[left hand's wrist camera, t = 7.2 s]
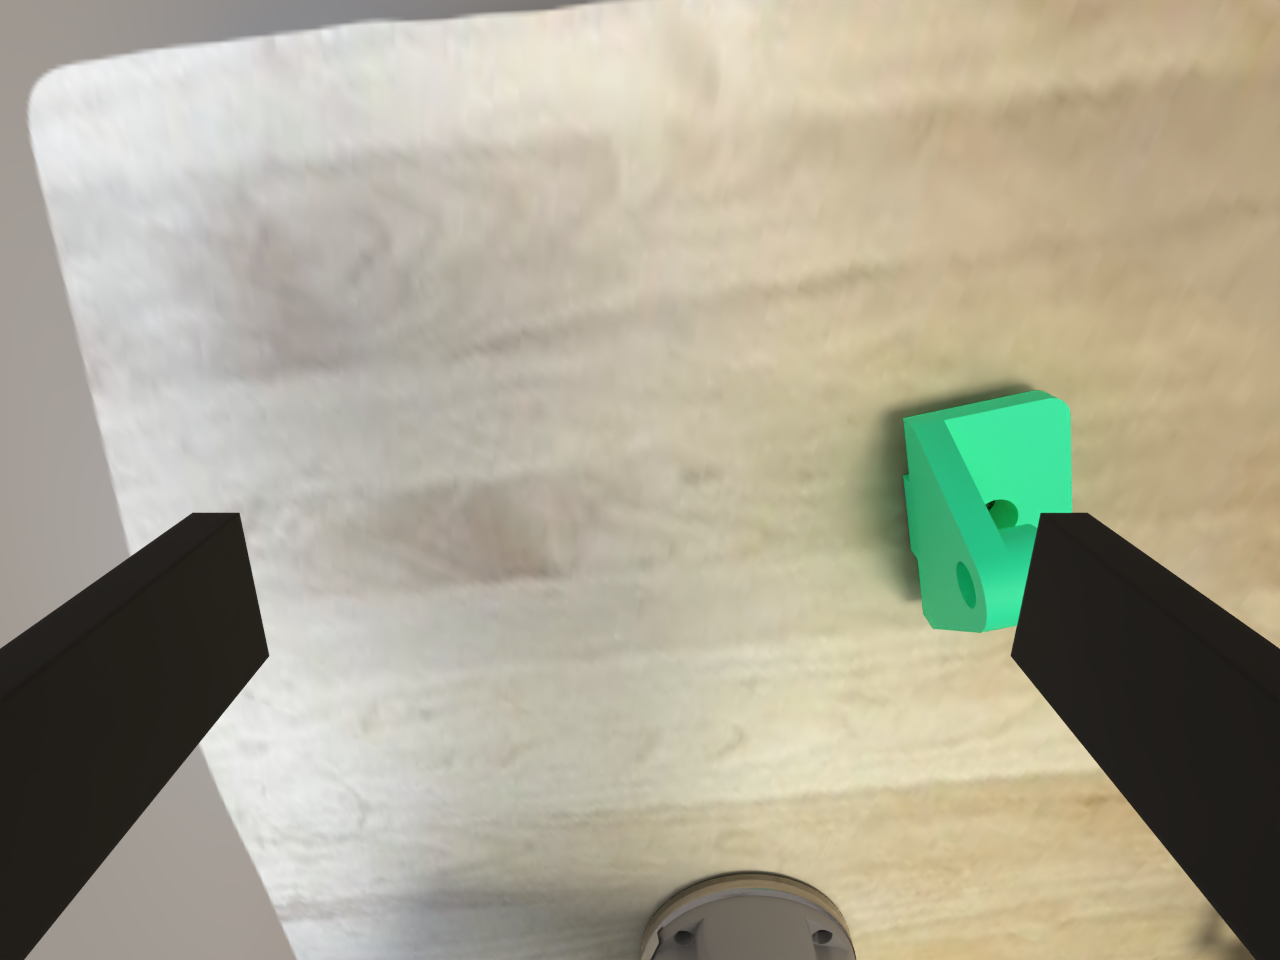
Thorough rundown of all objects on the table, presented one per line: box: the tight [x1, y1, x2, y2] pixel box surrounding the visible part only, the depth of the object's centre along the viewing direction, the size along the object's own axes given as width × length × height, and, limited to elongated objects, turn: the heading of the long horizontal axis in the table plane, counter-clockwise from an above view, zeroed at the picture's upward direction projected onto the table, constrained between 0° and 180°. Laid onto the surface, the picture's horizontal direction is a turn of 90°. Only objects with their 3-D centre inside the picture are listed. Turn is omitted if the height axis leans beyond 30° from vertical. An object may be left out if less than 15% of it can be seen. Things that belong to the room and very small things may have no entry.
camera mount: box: [903, 390, 1072, 633], centre depth 37 cm, size 12×8×10 cm, turn 13°
